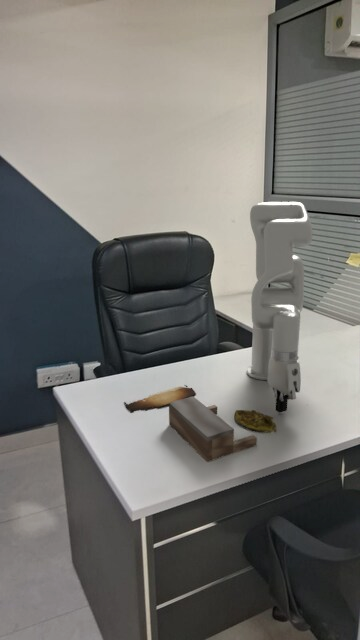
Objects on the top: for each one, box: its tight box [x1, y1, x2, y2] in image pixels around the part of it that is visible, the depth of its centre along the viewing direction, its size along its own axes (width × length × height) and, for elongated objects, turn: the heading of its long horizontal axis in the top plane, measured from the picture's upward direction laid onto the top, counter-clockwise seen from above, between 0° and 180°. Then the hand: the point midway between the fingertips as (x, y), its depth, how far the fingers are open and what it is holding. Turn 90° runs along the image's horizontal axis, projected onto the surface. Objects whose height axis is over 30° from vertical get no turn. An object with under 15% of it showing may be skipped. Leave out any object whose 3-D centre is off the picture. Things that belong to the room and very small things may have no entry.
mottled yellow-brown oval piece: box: [233, 409, 277, 434], centre depth 140 cm, size 9×5×15 cm
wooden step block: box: [168, 395, 258, 463], centre depth 133 cm, size 16×21×7 cm
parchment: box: [124, 384, 197, 413], centre depth 155 cm, size 25×10×1 cm, turn 122°
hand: (281, 410), depth 145 cm, fingers closed
